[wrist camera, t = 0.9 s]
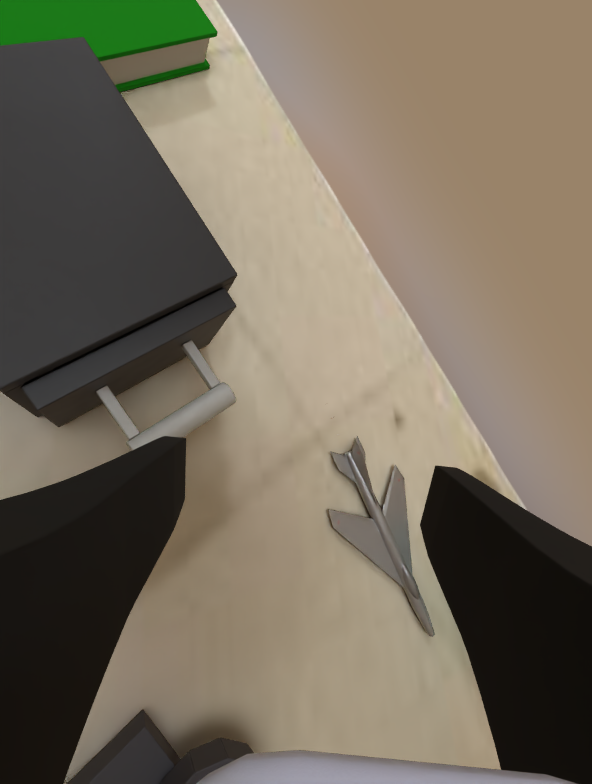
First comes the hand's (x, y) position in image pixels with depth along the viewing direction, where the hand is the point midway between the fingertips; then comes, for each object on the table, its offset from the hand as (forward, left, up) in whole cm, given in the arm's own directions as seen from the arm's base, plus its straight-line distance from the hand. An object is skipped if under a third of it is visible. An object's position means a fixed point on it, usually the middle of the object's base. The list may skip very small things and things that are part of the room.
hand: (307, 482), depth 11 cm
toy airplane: (+9, -11, -16) cm, 22 cm away
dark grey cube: (0, +15, -16) cm, 22 cm away
